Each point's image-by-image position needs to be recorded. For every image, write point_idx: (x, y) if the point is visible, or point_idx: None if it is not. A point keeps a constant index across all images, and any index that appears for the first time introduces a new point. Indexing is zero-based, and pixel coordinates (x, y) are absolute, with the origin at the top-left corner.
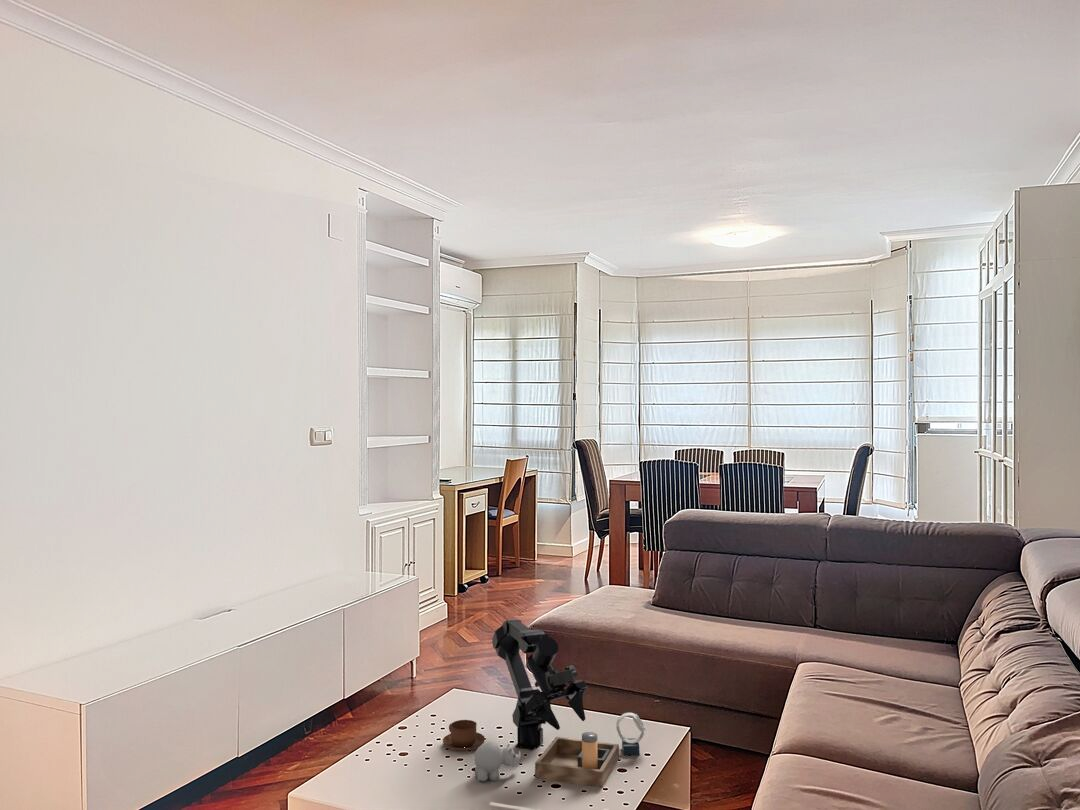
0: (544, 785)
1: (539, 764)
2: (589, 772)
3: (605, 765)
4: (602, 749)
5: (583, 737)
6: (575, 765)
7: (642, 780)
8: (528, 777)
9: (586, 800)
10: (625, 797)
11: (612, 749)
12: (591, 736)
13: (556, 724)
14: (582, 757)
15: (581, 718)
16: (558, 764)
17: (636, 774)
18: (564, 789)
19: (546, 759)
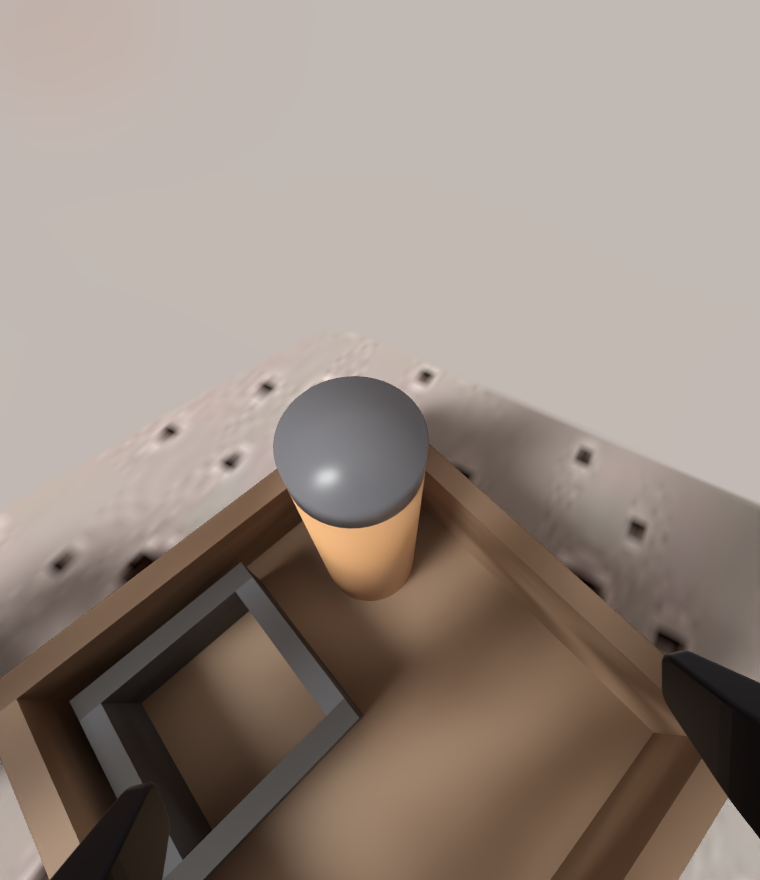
0: (639, 630)
1: None
2: None
3: None
4: (111, 740)
5: (427, 434)
6: (354, 768)
7: (164, 434)
8: (722, 808)
9: (492, 398)
10: (334, 353)
11: (93, 634)
12: (356, 401)
13: (755, 682)
14: (417, 527)
15: (153, 875)
16: (580, 607)
17: (134, 495)
18: (545, 531)
19: (592, 875)
